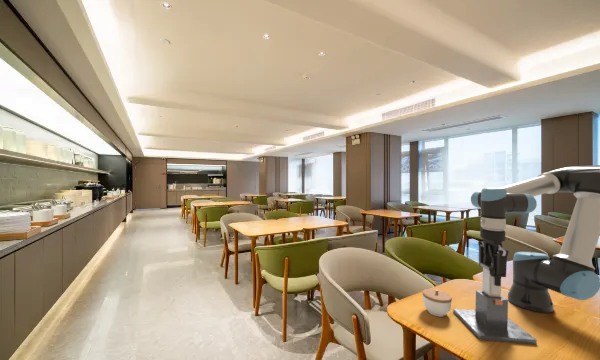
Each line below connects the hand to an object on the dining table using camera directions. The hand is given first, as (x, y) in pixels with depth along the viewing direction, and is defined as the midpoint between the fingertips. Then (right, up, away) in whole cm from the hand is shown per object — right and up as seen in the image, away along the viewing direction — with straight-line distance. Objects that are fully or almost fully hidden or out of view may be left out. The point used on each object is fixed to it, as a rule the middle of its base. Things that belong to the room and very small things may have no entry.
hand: (491, 290), depth 94 cm
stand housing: (0, -14, 0) cm, 14 cm away
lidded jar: (-16, -14, +9) cm, 23 cm away
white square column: (0, -12, 0) cm, 12 cm away
